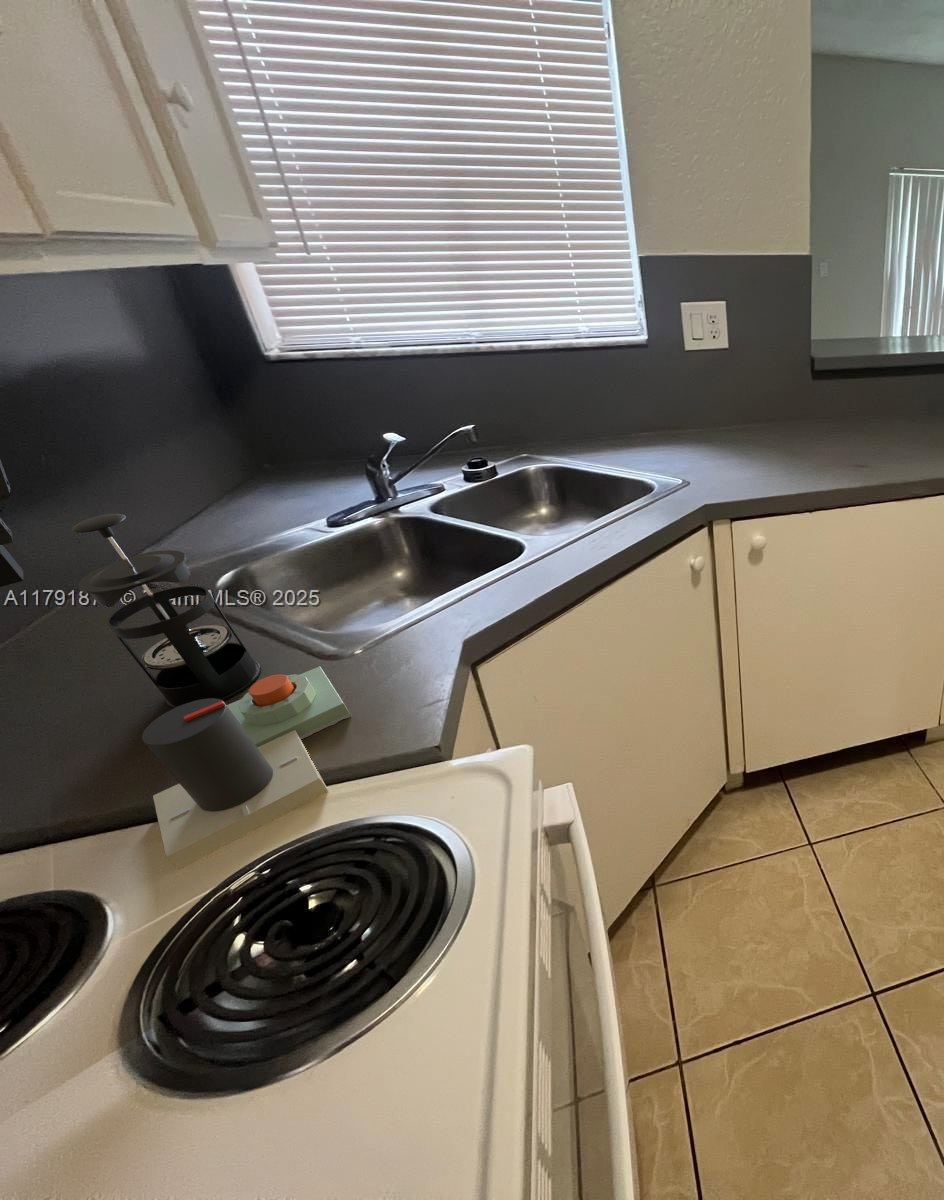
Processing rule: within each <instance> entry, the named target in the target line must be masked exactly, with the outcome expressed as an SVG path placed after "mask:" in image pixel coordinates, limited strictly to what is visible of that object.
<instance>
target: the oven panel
mask: <svg viewBox="0 0 944 1200" xmlns="http://www.w3.org/2000/svg"><path fill="white" fill-rule="evenodd" d="M302 741H303V740H301V738H300V737H299V735H298V734H297V732H296V731H295V730H294V731H292V732H290V733H287V734H285V735H283V736H281V737H279V738H277V739H274V740H272V741H270V742H268V743H266V744H264V745H261V746H259V747H257V748H258V749H259V751H260V752H261V753H262V755H263V756H264V758H265V759H266V760H267V762H268V763H269V765H270V766H271V767H272V769H273V775H272V778H271V780H270V782H269V783H268V784H267V786H266V787H265V788H264V789H263V790H262V791H260V792H259V793H258V794H257V795H255V796H254V797H252V798H251V799H249V800H247V801H246V802H244V803H242V804H240V805H237V806H235V807H232V808H229V809H226V810H221V811H206V810H203V809H201V808H200V807H199V806H198V804H197V803H196V802H195V801H194V800H193V799H192V798H191V796H190V795H189V794H188V793H187V792H186V791H185V789H184V788H183V787H182V786H181V785H180V784H179V783H177V784H175V785H173V786H171V787H169V788H166V789H164V790H162V791H160V792H158V793H156V794H153V795H152V798H153V803H154V808H155V813H156V817H157V822H158V827H159V831H160V837H161V841H162V846H163V851H164V855H165V858H166V859H167V860H168V861H169V862H170V863H171V864H172V865H173V866H174V868H176V869H177V870H178V871H179V870H182V869H184V868H185V867H187V866H189V865H191V864H193V863H195V862H197V861H198V860H200V859H202V858H204V857H206V856H208V855H210V854H212V853H213V852H216V851H218V850H219V849H221V848H222V847H225V846H227V845H229V844H231V843H233V842H235V841H236V840H238V839H241V838H243V837H244V836H246V835H248V834H250V833H252V832H254V831H256V830H258V829H260V828H261V827H263V826H265V825H267V824H269V823H271V822H273V821H274V820H277V819H278V818H280V817H282V816H284V815H286V814H288V813H290V812H291V811H293V810H296V809H297V808H299V807H301V806H303V805H305V804H307V803H309V802H311V801H312V800H314V799H316V798H318V797H320V796H322V795H324V794H327V792H329V789H328V787H327V785H326V783H325V782H324V780H323V777H322V776H321V774H320V772H319V770H318V768H317V766H316V764H315V762H314V760H313V759H312V760H313V761H312V760H311V758H312V757H311V758H310V756H311V755H310V753H309V751H308V749H307V747H306V745H305V743H304V741H303V742H302ZM303 743H304V744H303ZM304 745H305V746H304ZM305 747H306V748H305ZM306 749H307V750H306ZM307 751H308V752H307ZM308 753H309V754H308ZM309 755H310V756H309ZM313 762H314V763H313ZM314 764H315V765H314ZM315 766H316V767H315ZM316 768H317V769H316ZM317 770H318V771H317Z"/></svg>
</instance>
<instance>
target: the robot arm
mask: <svg viewBox="0 0 944 1200" xmlns="http://www.w3.org/2000/svg"><path fill="white" fill-rule="evenodd" d="M5 471H6V470H5V469H4V466H3V463H2V460H1V459H0V502H1V501H6V500H7V499H9V498H10V496H11V486H10V483H9V479H8V477H7V474H6V472H5ZM11 543H12V544H13V532H12V530H11V529H10V528H9V527H8V525H7V524H6V523H5V522H4V520H3V519H2V517H0V588H3V587H6V586H9V585H13V584H17V583H20V582H23V581H25V580H24V570H23V568H22V567H21V566H20V565H19V563H17V561H16V560H15V558H14V557H13V556H12V555H11V554H10V552H9V551H8V550H7V549H6V548H5V547H4V546H5V545H7V544H11Z"/></svg>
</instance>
